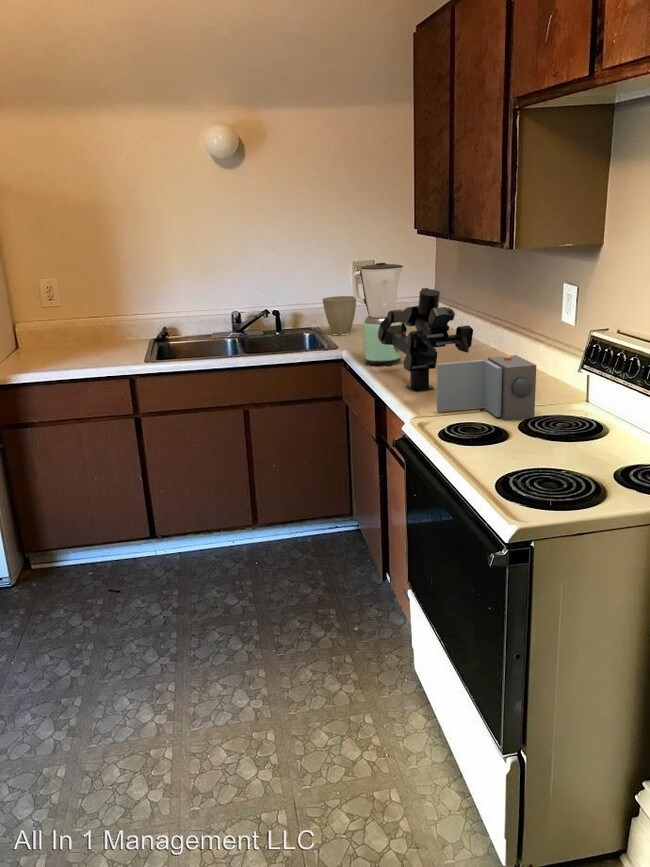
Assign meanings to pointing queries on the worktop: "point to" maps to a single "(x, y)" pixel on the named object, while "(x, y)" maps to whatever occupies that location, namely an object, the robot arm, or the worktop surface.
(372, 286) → the mint green blender
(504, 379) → the camera case
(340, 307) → the plant pot
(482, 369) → the grey bookend
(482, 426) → the worktop surface
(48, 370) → the worktop surface
